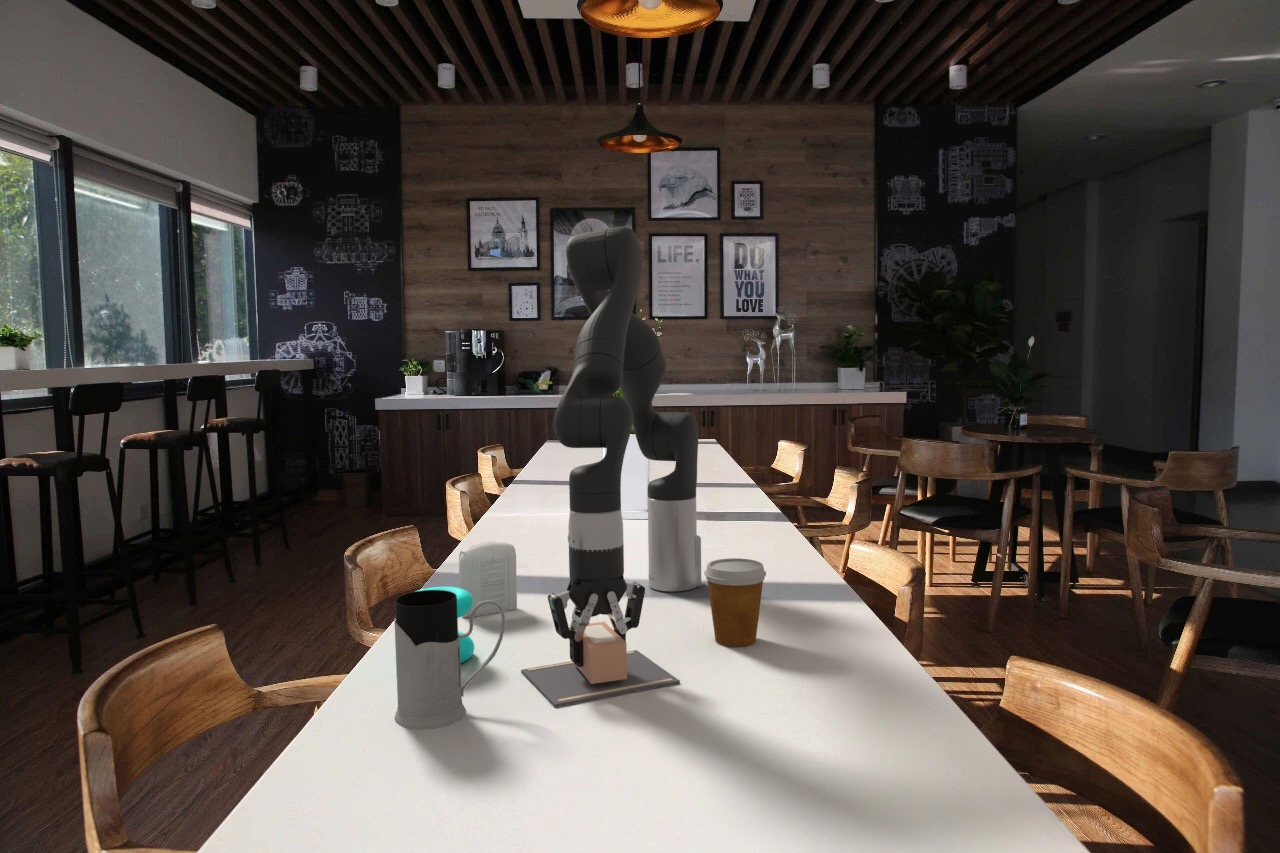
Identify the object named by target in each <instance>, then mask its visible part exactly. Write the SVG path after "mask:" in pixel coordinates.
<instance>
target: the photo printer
mask: <svg viewBox="0 0 1280 853" xmlns="http://www.w3.org/2000/svg"><path fill="white" fill-rule="evenodd" d="M516 552H517V551H516V549H515V546H514V544H512V543H509V542H505V541H497V540H494V541H493V540H491V541H483V542H478V543H475V544H472V545H470V546H468V547H465V548H463V549H461V550H460V552H459V555H458V556H459V557H458V575H459V576H458V577H459V579H458V580H459V584H458V586H459V587H458V588H462V589H464V590H466V591H468V592H469V593H470V594H471V596H472V598H473V604H472V607H471V609H470V610H469V611H468V612H467V613H466V614H465V615H463V616H462V617H463V618H465V619H467V618H470V615H471V612H472V610H473V608H474V607H475V606H476V605H477V604H478V603H479V602H481V601H484V600H491V601H495V602H497V603H498V604H500V605H501V607H502V609H503V610H504V612H507V611H512V610H513V609H514V610H516V609H517V606H518V594H517V592H518V590H517V587H518V586H517V584H518V583H517V553H516ZM514 610H513V611H514ZM496 613H501V611H500V609H499V607H498V606H496V605H495V604H491V603H486V604H483V605H481V606H480V607H479V608H478V609H477V610H476V612H475V615H474V617H480V616H484V615H490V614H496Z"/></svg>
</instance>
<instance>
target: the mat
mask: <svg viewBox="0 0 1280 853" xmlns="http://www.w3.org/2000/svg"><path fill="white" fill-rule="evenodd" d="M520 672H521V674H522V675H523V676H524V677H525V678H526V679H527V681H529V682H530V684H531V685H533V686H534V687H535V689H536V690H537V691H538V692H539V693H540V694H541V695H542V696H543V697H544V698H545V699H546V700H547V701H548V703H550V704H551V705H552V706H553V708H558V707H564V706H568V705H569V706H571V705H575V704H579V703H585V702H590V701H595V700H600V699H601V700H602V699H605V698H611V697H614V696H621V695H626V694H632V693H638V692H641V691H648V690H653V689H658V687H659V688H664V687H667V686H674V685H678V684H680V682H681V680H680V679H678V678H677V677H675V676H674V675H672V674H671V673H670V672H668V671H667V670H665V669H664V668H663V667H661V666H660V665H658V664H657V663H655V662H654V661H653V660H652V659H650V658H649V657H647V656H646V655H645V654H643V653H642V652H640V651H639V650H637V649H635V650H628V651H627V679H623V680H616V681H609V682H602V683H595V684H591V683H590V682H589V680H588V679H587V678H586V677H585V676H584V674H583V673H582V672H581V671H580V669H579V668H578V667H577V666H576V665H575V664H574V662H572V661H571V660H570V661H565V662H560V663H559V662H558V663H553V664H547V665H541V666H540V665H539V666H535V667H529V668H524V669H521V670H520ZM637 691H638V692H637Z"/></svg>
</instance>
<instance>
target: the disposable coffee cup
mask: <svg viewBox="0 0 1280 853" xmlns="http://www.w3.org/2000/svg"><path fill="white" fill-rule="evenodd" d="M703 574H704V576H705V579H706V581H707V588H708V593H709V601H710V602H709V603H710V610H711V615H712V625H713V632H714V633H713V634H714V641H715V643H717V644H719V645H720V646H721V645H722V646H726V647H731V648H732V647H733V648H741V647H748V646H751V645H753V644H755V643H756V641H757V634H758V625H759V624H758V623H759V619H760V618H759V616H760V608H761V600H762V592H763V584H764V581H765V577H766V576H767V571H766V570H765V568H764V564H763V563H762V562H760V561H757V560H754V559H751V558H738V557H737V558H735V557H734V558H731V557H730V558H719V559H714V560H711V561H709V562H708V563H707V565H706V568H705V570H704V571H703Z"/></svg>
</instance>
